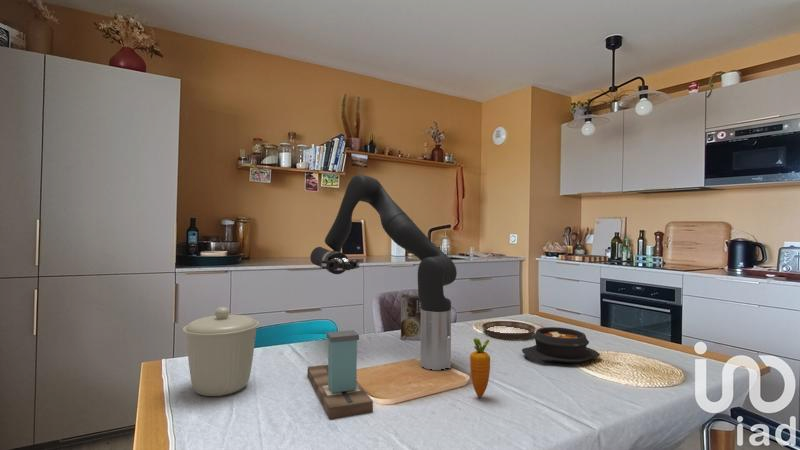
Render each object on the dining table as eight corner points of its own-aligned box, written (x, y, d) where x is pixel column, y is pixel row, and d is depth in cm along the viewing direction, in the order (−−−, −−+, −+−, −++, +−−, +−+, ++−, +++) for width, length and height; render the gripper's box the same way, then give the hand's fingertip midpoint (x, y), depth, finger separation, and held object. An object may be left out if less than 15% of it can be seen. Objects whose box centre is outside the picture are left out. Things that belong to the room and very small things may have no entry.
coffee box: (425, 336, 159) (425, 294, 159) (424, 340, 152) (424, 297, 152) (401, 335, 159) (402, 293, 160) (400, 339, 153) (400, 296, 153)
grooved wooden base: (307, 375, 115) (307, 366, 115) (342, 371, 119) (342, 362, 119) (329, 419, 89) (329, 407, 89) (372, 412, 93) (372, 400, 93)
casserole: (541, 370, 122) (541, 342, 122) (511, 351, 140) (511, 327, 140) (614, 365, 127) (614, 338, 127) (576, 347, 145) (576, 324, 145)
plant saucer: (482, 340, 154) (482, 331, 154) (481, 327, 175) (481, 319, 175) (539, 343, 151) (539, 334, 151) (531, 329, 171) (531, 321, 171)
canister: (181, 409, 93) (182, 317, 94) (182, 382, 109) (183, 304, 110) (263, 395, 102) (264, 310, 102) (253, 372, 118) (254, 299, 118)
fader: (326, 386, 100) (326, 332, 100) (353, 382, 103) (353, 330, 103) (330, 393, 96) (331, 337, 96) (358, 389, 98) (359, 334, 98)
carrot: (491, 395, 103) (491, 335, 103) (488, 403, 98) (489, 341, 98) (471, 392, 105) (471, 334, 105) (468, 400, 100) (468, 338, 100)
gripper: (315, 251, 137) (326, 254, 121) (353, 250, 142) (368, 254, 126) (315, 273, 137) (326, 280, 121) (353, 272, 142) (368, 278, 126)
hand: (347, 266), depth 124 cm, fingers closed
